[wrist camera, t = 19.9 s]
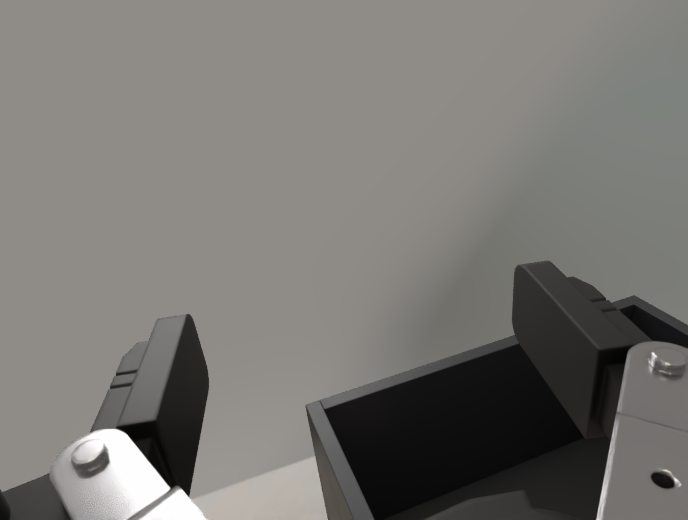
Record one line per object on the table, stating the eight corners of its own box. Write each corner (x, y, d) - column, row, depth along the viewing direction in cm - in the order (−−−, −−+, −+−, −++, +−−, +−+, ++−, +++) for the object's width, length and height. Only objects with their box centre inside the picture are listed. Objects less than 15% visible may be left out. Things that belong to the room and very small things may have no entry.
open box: (451, 866, 19) (443, 733, 15) (331, 534, 32) (305, 404, 27) (851, 622, 25) (942, 466, 20) (614, 420, 37) (634, 294, 32)
